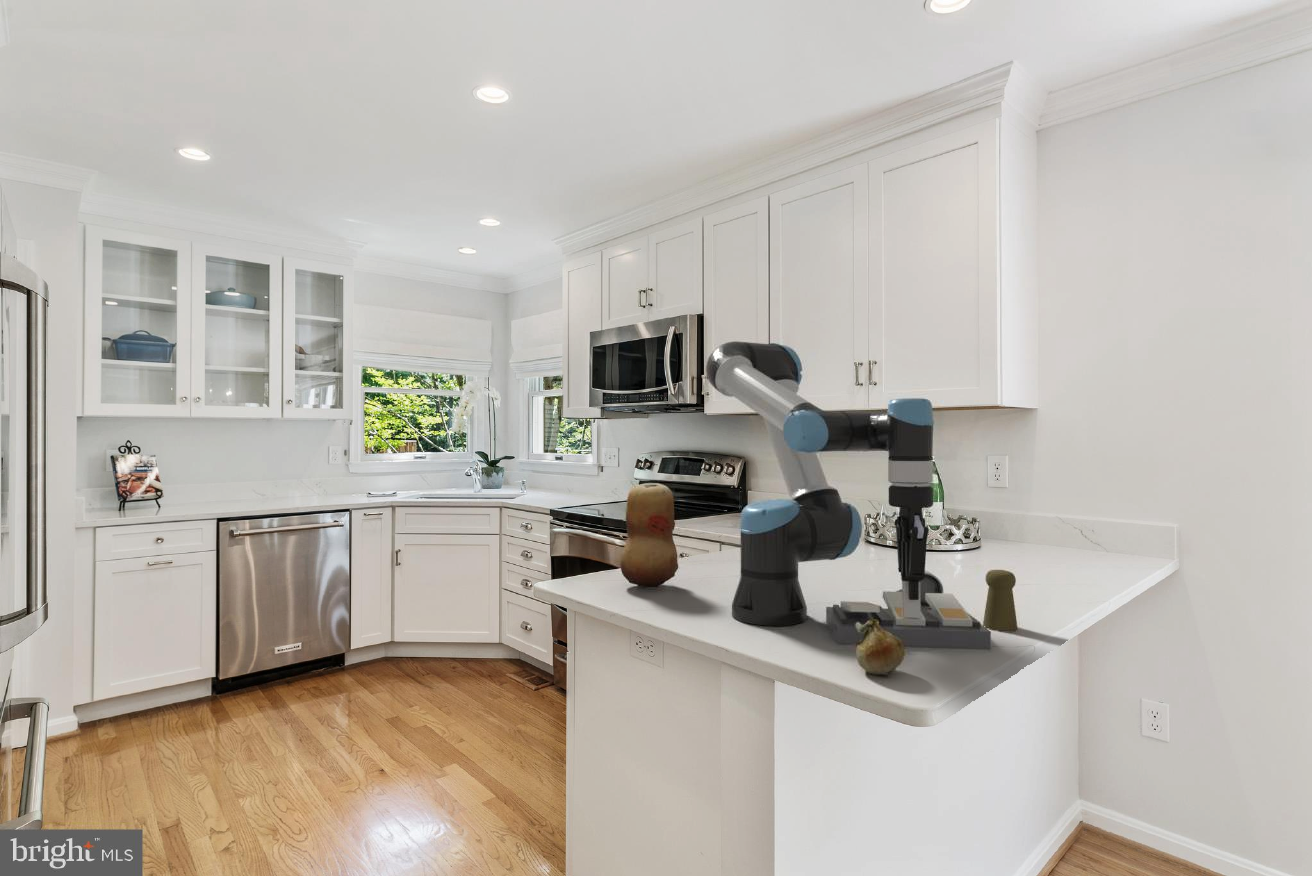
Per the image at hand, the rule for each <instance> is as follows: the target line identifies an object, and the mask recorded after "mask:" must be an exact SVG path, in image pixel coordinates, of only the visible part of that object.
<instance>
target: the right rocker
mask: <svg viewBox="0 0 1312 876" xmlns="http://www.w3.org/2000/svg"><path fill="white" fill-rule="evenodd" d="M925 599H926V601H927V602H928V604H929V605H930V607H931V608H930V609H931V610H933V612H934V613H935V615H936V616H937V618H938V619H939V621H940V622H941V624H942V625H943V626H972V623H973V620H972V619H971V617H970V616H969V615H968V614H969V612H967V611H966V609H965V608H964V607H963V605H962V604H961V603H960V602H959V600H958V598H956V597H955V595H954V593H944V592H943V593H925Z"/></svg>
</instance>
